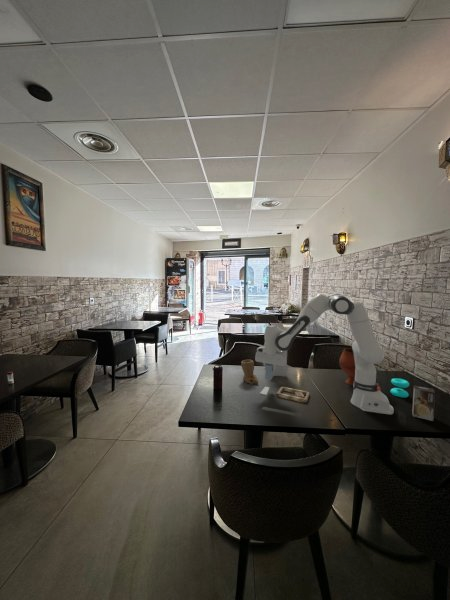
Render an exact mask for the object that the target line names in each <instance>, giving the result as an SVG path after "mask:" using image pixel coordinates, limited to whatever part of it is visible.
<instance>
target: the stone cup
mask: <svg viewBox="0 0 450 600" xmlns="http://www.w3.org/2000/svg"><path fill="white" fill-rule="evenodd" d="M241 369H242V372H243V380H244V382H245V383H248V384H254V385H255V384H257V383H259V380H258V377H257V376H256V374H254V371H255V363H254V360H252V359H244V360H242V361H241Z"/></svg>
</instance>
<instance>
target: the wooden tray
mask: <svg viewBox="0 0 450 600" xmlns="http://www.w3.org/2000/svg"><path fill="white" fill-rule="evenodd" d="M283 391H284V392H288V393H292V394H295V392H302V394H303V395H304V396H305V398H300V397H296V396H295V395H290V394H286V393H282V392H283ZM276 397H277V398H282V399H286V400H291V401H295V402H299V403H304V404H307V403H308V400H309V397H310V392H309V391H307V390H302V389H301V390H300V389H295V388H290V387H286V386H281V387H280V388H278V390H277V393H276Z"/></svg>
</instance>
